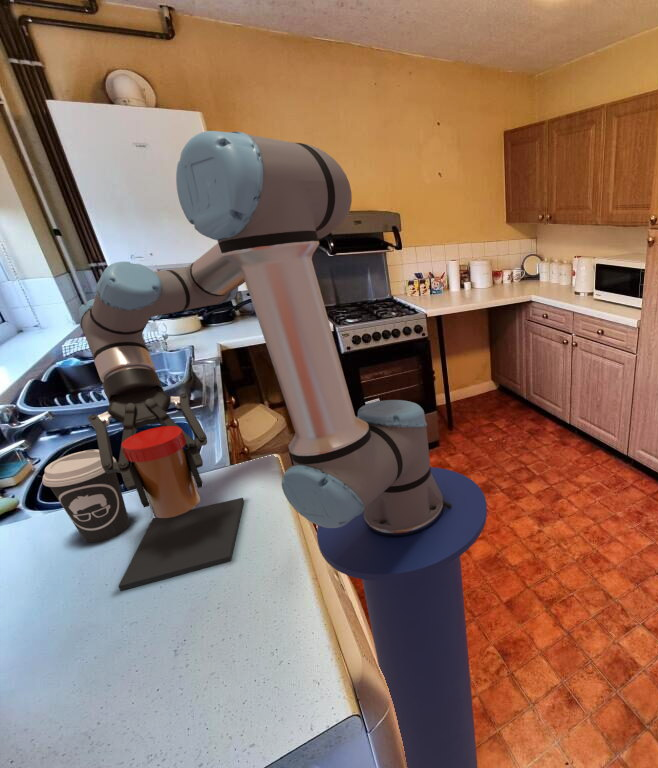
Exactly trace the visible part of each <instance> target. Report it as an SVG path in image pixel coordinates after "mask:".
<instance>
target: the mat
mask: <svg viewBox="0 0 658 768" xmlns="http://www.w3.org/2000/svg"><path fill="white" fill-rule="evenodd" d="M244 502H245V500H244V497H239V498H234V499H229V500H226V501H221V502H217V503H211V504H209V505H204V506H200V507H196V508H195V507H194V508H193V509H191V510H189V511H188V512H186V513H183V514H181V515H178V516H175V517H170V518H158V517H156V516H154V517H152V520H151V521H150V523H149V525H148V527H147V528H146V531H145V533H144V535H143V537H142V539H141V541H140V543H139V545H138V547H137V549H136V551H135V553H134V555H133V556H132V559H131V561H130V562H129V565H128V566H127V568H126V570H125V572H124V573H123V576H122V577H121V580H120V582H119V584H118V589H119V590H120V592H122V591H126V590H130V589H134V588H136V587H140V586H144V585H148V584H152V583H156V582H159V581H162V580H166V579H170V578H173V577H176V576H180V575H185V574H188V573H191V572H195V571H200V570H203V569H207V568H210V567H214V566H217V565H221V564H225V563H228V562H231V561H232V557H233V554H234V548H235V543H236V539H237V535H238V530H239V525H240V522H241V517H242V512H243V509H244Z"/></svg>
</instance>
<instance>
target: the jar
mask: <svg viewBox="0 0 658 768" xmlns="http://www.w3.org/2000/svg"><path fill="white" fill-rule="evenodd" d="M184 450H185V449H184V447H183V448H182V449H180V450H179V451H177V452H175V453H173V454H171V455H169V456H166V457H163V458H160V459H157V460H152V461H147V462H133V465H135V467H136V470H137V472H138V475H139V477H140V480H141V483H142V485H143V488H144V491H145V493H146V496H147V499H148V502H149V505H150V506H149V507H150V509H151V511H152V513H153V516H154V517H158V518H170V517H175V516H178V515H181V514H183V513H186V512H188V511H189V510H191V509H195V507H197V506H198V505H199V504H200V502H201V496H200V493H199V491H198V488H197V485H196V482H195V480H194V477H193V475H192V472H191V469H190V466H189V464H188V461H187V458H186V455H185V452H184Z"/></svg>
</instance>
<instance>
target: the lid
mask: <svg viewBox="0 0 658 768" xmlns="http://www.w3.org/2000/svg"><path fill="white" fill-rule="evenodd" d="M182 430H183V429H182V428H181V427H180V426H179V427H177V426H158V427H152V428H149V429H146V430H142V431H139V432H136V434H134V435H132V436H130V437H129V438H127V439H126V440H124V441H123V443H122V448H123V449H122V450H123V453H124V455H125V458H127V460H128V461H131V463H134V462H147V461H152V460H157V459H160V458H163V457H166V456H169V455H171V454H173V453H175V452H177V451H179V450H180V449H182V448H183V449H184V448H185V447H184V446H185V444H186V439H185V436H184V433H183V432H182Z"/></svg>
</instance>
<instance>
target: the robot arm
mask: <svg viewBox="0 0 658 768" xmlns="http://www.w3.org/2000/svg"><path fill="white" fill-rule="evenodd" d="M175 184H176V191H177V197H178V200H179V204H180V207H181V209H182V211H183V214H184V216H185V218H186V220H187V221H188V222H189V223H190V225H193V226H194V230H196V231H197V232H198V233H199V234H200V235H202V236H204V237H206V238H209V239H211V240H215V241H216V242H217V243H216V244H214V245H213V246H212V247H211V248H210V249H209V250H207V251H206V252H205V253H203V254H202V255H201V256H200V257H198V258H197V259H196V260H195V261H193V262H192V263H190V264H189V265H188V266H185V267H181V268H173V269H164V270H156V271H155V270H152V269H151V268H149V267H148V266H146V265H143V264H141V263H133V262H130V261H117V262H116V261H115V262H114V263H111V264H109V265H108V266H106V268H104V270H103V272H102V274H101V275H100V277H99V280H98V281H97V283H96V288H95V295H94V298H92V299H89V300H88V301H86V302H85V303H83V304H81V306H80V307H79V309H78V312H77V313H78V316H79V327H80V329H81V330H82V332H83V334H84V337H85V339H86V342H87V345H88V348H89V350H90V354H91V356H92V359H93V361H94V362H93V363H94V365H95V367H96V370H97V373H98V376H99V379H100V382H102V387H103V390H104V393H105V396H106V398H107V401H108V408H107V411H104V412H102V413H100V414H98V415H97V414H90V415H88V416H87V420H88V421H89V423H90V425H91V426H92V428H93V429H94V431H95V436H96V441H97V447H98V450H99V453H100V459H101V464H102V468H103V469H104V471H105V472H106V473H107V474H111V473H115V472H116V473H118V474H120V475H121V478H122V481H123V483H124V487H125V489H127V490H128V491H132V490H134V489H136V492H137V494H138V497H139V501H140V503H141V505H142V507H143V508H147V507H151V506H150V503H149V500H148V498H147V495H146V493H145V490H144V488H143V485H142V483H141V480H140V477H139V475H138V472H137V470H136V467H135V465H134V464H132V462H131V461H128V460H127V458H125V455H124V453H123V450H122V449H123V448H122V443H123V441H124V440H126V439H127V438H129V437H130V436H132V435H134V434H137V430H138V429H139V428H143V427H145V426H147V425H154V424H155V425H156V424H159V425H160V426H161V427H163V426H177V427H180V425H178V423H176V422H175V420H173V419H172V418H171V417H170V416H169V414H168V413H167V412H168V410H169V408H170V406H171V405H174V406H175V408H176V409H179V410H180V411H181V413H182V416H183V418H184V419H185V421H186V423H187V424H188V426H189V428H190V430H191V432H192V434H193V435H194V437H195V439H193V438H192V437H191V436H190V435H189V434H188V433H187V432H186V431H185V430H184V429H182V432H183V433H184V436H185V439H186V444H185V446H184V447H183V448H185V449H184V452H185V455H186V458H187V461H188V464H189V466H190V469H191V472H192V475H193V478H194V481H195V484H196V487H197V489H200V488H203V487H204V483H203V479H202V478H201V475H200V472H199V470H198V468H201V467H203V465H204V461H203V458H202V455H201V453H200V450H199V449H200V448H201V447H203V446H206V445H207V444H208V438H207V434H206V432H205V430H204V429H203V427H202V425H201V423H200V422H199V420H198V419H197V416H196V414H194V411H193V410H192V408H191V406H190V398H189V394H187V393H185V392H184V393H180V395H179V396H178V395H177V396H170V395H169V394H167V392H166V391H165V390H164V388H163V387H164V386H163V385H162V383H161V380H160V377H159V375H158V373H157V372H156V371H157V370H156V367H155V365H154V362H153V359H152V357H151V354H150V352H149V349H148V346H147V343H146V341H145V338H144V334H143V333H144V331H145V329H146V327H147V325H148V323H149V321H150V318H153V317H158V316H162V315H169V314H173V313H177V312H183V311H189V310H192V309H198V308H204V307H209V306H218V305H221V304H223V303H227V302H230V301H232V300H234V299H235V298H236V297H237V293H238V292H239V287H240V286H242V285H244V284H245V285H246V288H247V291H248V295H249V297H250V300H251V303H252V306H253V309H254V312H255V315H256V318H257V322H258V324H259V327H260V330H261V334H262V336H263V339H264V342H265V345H266V348H267V351H268V354H269V357H270V361H271V364H272V366H273V370H274V373H275V375H276V379H277V381H278V384H279V388H280V391H281V394H282V396H283V400H284V403H285V406H286V409H287V411H288V415H289V417H290V420H291V424H292V427H293V429H294V432H295V434H294V436H293V437H292V438H291V441H290V443H289V444H288V451H289V455H290V457H291V461H292V463H293V465H292V466H290V467H289V468H287V469H286V471H285V472H284V473H283V476H282V478H281V489H282V492H283V494H284V496H285V498H286V500H287V501H288V502H289V505H290V506H291V507H292V508H293V509H294V510H295V511H296V512H297V513H298V514H299V515H300V516H301V517H303V518H305V519H306V520H307V521H309V522H310V523H312V524H314V525H316V526H318V525H319V526H322V527H326V528H338V527H342V526H344V525H346V524H347V523H348V522H350V521H351V520H352V519H353V518H355V517H356V516H358V515H360V514H361V513H362V512H363V510H364V518H365V523H366V526H367V527H368V529H369V530H370V531H372V532H373V533H375V534H377V535H380V536H384V537H391V538H398V537H406V536H411V535H414V534H417V533H420V532H422V531H424V530H426V529H428V528H429V527H431V526H432V525H433V524H435V523H436V522H437V521H438V519H439V518H440V517H441V515H442V513H443V509H444V506H446V507H448V508H451V505H452V504H450V503H447V502H445V501H443V496H442V494H441V491H440V490H439V488H438V486H437V484H436V482H435V480H434V478H433V476H432V474H431V469H430V467H431V460H430V459H431V458H430V449H429V439H428V429H427V426H428V423H427V421H426V415H425V411H424V409H423V408H422V407H421V405H420V404H418V403H416V402H414V401H413V402H412V401H408V400H403V399H387V400H378V401H373V402H369V403H367V404H365V405H363V406H360V408H358V411H357V416H356V414H355V410H354V407H353V403H352V400H351V396H350V393H349V389H348V385H347V382H346V378H345V375H344V370H343V367H342V362H341V360H340V356H339V352H338V350H337V345H336V343H335V339H334V335H333V332H332V328H331V324H330V321H329V318H328V313H327V310H326V306H325V301H324V299H323V296H322V292H321V287H320V285H319V281H318V277H317V275H316V270H315V267H314V264H313V263H314V262H313V260H312V259H313V256H314V253H315V252H316V251H317V249H318V247H319V245H320V241H321V240H322V239H323V238H324V237H326V236H328V235H329V234H331V233H332V232H334V231H335V230H336V229H338V228H339V227H340V226H341V225H342V224H343V223H344V222H345V221H346V219H347V218H348V216H349V214H350V211H351V206H352V202H353V200H352V199H353V195H352V188H351V185H350V181H349V179H348V176H347V173H346V172H345V171H344V169H343V168H342V166H341V165H340V164H339V163H338V162H337V160H336V159H334V157H332V156H331V155H329V153H327V152H325V151H324V150H322V149H320V148H319V147H316V146H314V145H312V144H308V143H302V142H294V141H293V142H292V141H286V140H282V139H276V138H269V137H265V136H260V135H259V136H258V135H253V134H247V133H246V132H242V131H230V132H229V131H218V130H206V131H202V132H199V133H197V134H195V135H194V136H192V137H191V138H190V139H189V140H188V141H187V142H186V144H185V145H184V146H183V148H182V150H181V152H180V157H179V160H178V162H177V165H176V174H175ZM111 419H114V420H116V421H118V422H120V423H121V424H122V435H121V441H120V442H121V443H120V448H119V449H120V450H119V455H118V461H116V462H114V461H113V457H114V456H113V450H112V445H111V441H110V434H109V431H108V429H107V428H108V427H109V426H110V425H111V422H110V420H111Z"/></svg>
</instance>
